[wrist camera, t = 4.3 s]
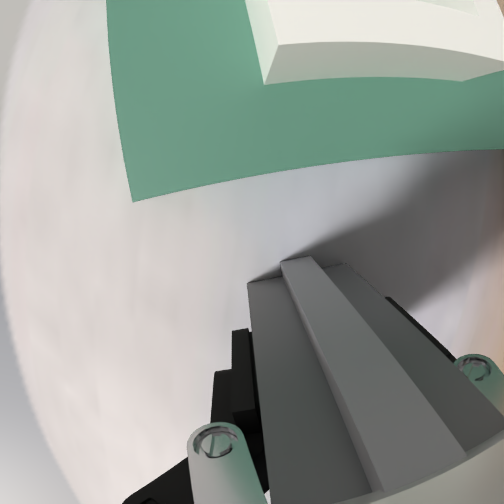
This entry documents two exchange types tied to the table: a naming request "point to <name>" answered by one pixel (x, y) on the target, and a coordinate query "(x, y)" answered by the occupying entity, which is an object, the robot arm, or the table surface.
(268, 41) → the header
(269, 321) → the plug
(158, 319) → the table surface
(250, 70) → the board
